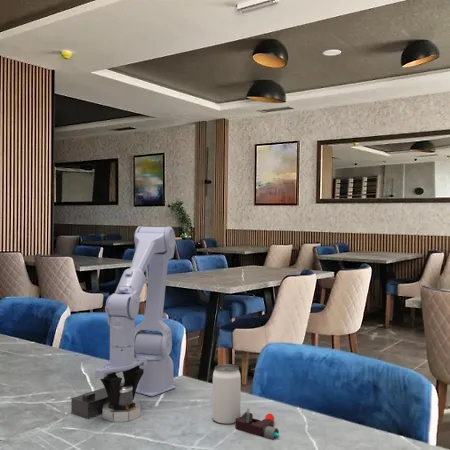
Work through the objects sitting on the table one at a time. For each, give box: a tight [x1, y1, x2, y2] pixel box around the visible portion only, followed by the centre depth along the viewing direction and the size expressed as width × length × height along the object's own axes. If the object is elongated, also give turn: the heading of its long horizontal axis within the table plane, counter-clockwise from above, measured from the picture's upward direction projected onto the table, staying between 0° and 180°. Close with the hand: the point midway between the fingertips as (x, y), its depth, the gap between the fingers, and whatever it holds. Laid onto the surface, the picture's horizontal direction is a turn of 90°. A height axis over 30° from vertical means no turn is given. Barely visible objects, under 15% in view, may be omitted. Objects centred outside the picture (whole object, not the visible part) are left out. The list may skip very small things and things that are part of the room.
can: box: [211, 363, 242, 425], centre depth 125 cm, size 6×6×12 cm
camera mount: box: [70, 387, 141, 423], centre depth 129 cm, size 13×15×4 cm
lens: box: [114, 381, 133, 410], centre depth 127 cm, size 5×5×6 cm
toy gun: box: [234, 408, 281, 441], centre depth 120 cm, size 10×12×5 cm
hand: (121, 402), depth 127 cm, fingers closed on lens, 4 cm apart
